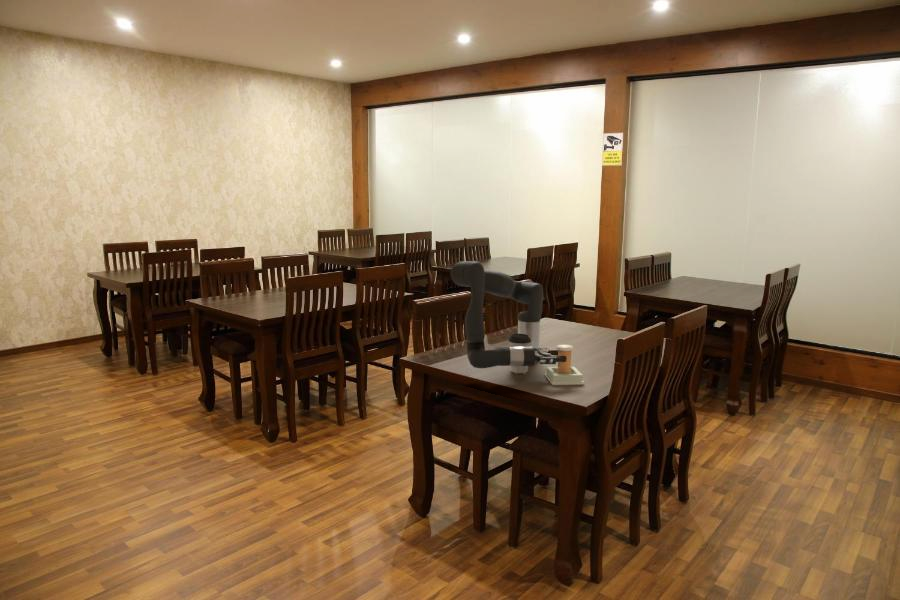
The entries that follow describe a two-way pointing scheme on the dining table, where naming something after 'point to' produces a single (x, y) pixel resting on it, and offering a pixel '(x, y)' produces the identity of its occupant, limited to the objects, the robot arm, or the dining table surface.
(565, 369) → the cord spool
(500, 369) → the dining table surface
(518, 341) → the coffee cup
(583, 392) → the dining table surface
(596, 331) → the dining table surface
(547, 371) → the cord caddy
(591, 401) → the dining table surface
